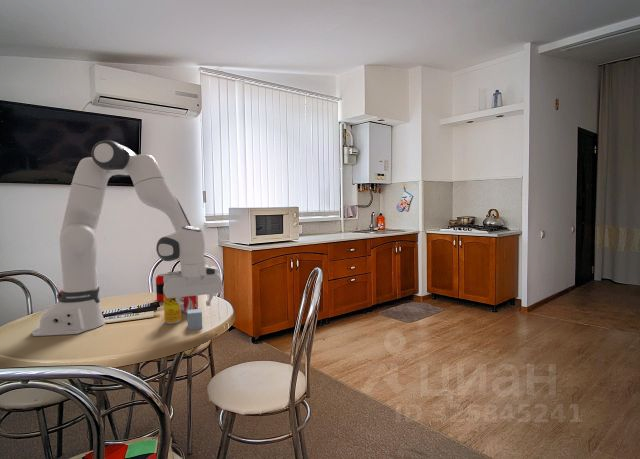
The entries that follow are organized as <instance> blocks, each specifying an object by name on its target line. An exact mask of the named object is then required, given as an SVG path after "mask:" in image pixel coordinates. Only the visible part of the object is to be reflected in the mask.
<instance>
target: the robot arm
mask: <svg viewBox="0 0 640 459" xmlns="http://www.w3.org/2000/svg"><path fill="white" fill-rule="evenodd" d="M90 154H91V156H90V157H89V156H87V157H84V158H82V159H81V160H80V161H79V162H78V165H77V166H76V169H75V171H74V175H73V178H72V181H71V185H70V189H69V190H70V191H69V195H68V199H67V203H66V207H65V212H64V215H63V216H64V217H63V222H62V226H61V230H60V235H59V247H60V248H59V249H60V251H59V252H60V260H61V275H62V278H61V279H62V289H61V290H60V291H59V292H58V293H57V295H56V299H57V302H56V303H55V304H53V305H52V306H51V307H49V308H47V309H46V311H45V312H44V313H42V315H41V317H40V320H39V325H38V326H36V327H35V328H34V329H33V330H32V332H31V335H32V336H33V337H43V336H45V337H46V336H60V335H62V336H63V335H77V334H81V333H84V332H87V331H89V330H93V329H97V328H99V327H101V326H103V325H104V324H105V323H106V321H105V318H104V315H103V312H102V309H101V290H100V286H99V281H98V258H97V257H98V256H97V255H98V254H97V235H96V232H97V227H98V224H99V221H100V216H101V213H102V210H103V205H104V201H105V196H106V190H107V186H108V182H109V180H110V178H112V177H114V178H122V177H123V178H127V177H130V179H131V181H132V184H133V187H134V190H135V192H136V193H135V194H136V195H137V196H138V197H137V198H138V199H139V201H141V203H142V204H144V205H146V206H147V207H150V208H153V209H156V210H158V211H160V212H162V213H163V214H165V215H166V216H167V217H168V219H169V220H170V222H171V225H172V226H173V228H174V230H175V232H174V233H170V234H169V235H168V234H167V235H165V236H162V237H161V238H159V239H158V240H157V243H156V255H157V256H158V258H159V259H161V260H162V261H164V262H173V261H179V263H180V264H179V267H180V270H177V271H173V272H172V271H169V272H167V273H164V274H165V275H164V277H163V282H164V284H165V285H166V286H165V296H166V297H167V298H175V297H176V301H177V303H178V304H179V308H180V309H184V303H181V302H180V301H179V300H180V297H185V296H196V295H198V296H205V295H208V297H209V298H208V300H205V302H206V303H205V304H206V307H210V306H211V301H212V300H213V297H214V295H215V294H221V293H222V292H223V290H224V289H223V282H222V279H221V276H220V274H219V268H218V267H217V266H215V265H211V264H206V262H207V261H206V258H205V251H206V243H205V236H204V232H203V230H202V228H200V227H197V226H194V225H191V223H190V221H189V219H188V217H187V215H186V212H185V211H184V209H183V207H182V205H181V203H180V201H179V199H178V198H177V197H176V196H175V195H174V194H173V192H172V190H170V188H169V186H168V183H167V181H166V179H165V176H164V174H163V171H162V169H161V167H160V165H159V163H158V162H157V159H155V157H154V156H153V155H151V154H147V153H140V154H137V153H136V152H135V151H133V150H131V149H130V148H129V147H127V146H125V145H123V144H120V143H118V142H116V141H114V140H111V139H110V140H108V139H107V140H100V141H98V142H96V143H95V144H94V145H93V147H92V149H91V152H90ZM167 274H168V275H167Z"/></svg>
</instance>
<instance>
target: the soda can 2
mask: <svg viewBox="0 0 640 459" xmlns="http://www.w3.org/2000/svg"><path fill="white" fill-rule="evenodd" d="M181 303H184V309H181V313H183V314H187V310H192V309H199V295H196V296H185V297H181Z"/></svg>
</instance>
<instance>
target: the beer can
mask: <svg viewBox="0 0 640 459" xmlns="http://www.w3.org/2000/svg"><path fill="white" fill-rule="evenodd" d="M165 286H166V285H165V284H164V287H163V296H164V302H163V309H164V310H163V312H164V313H163V314H164V315H163V316H164V317H163V318H164V322H165V323H166V324H168V325H173V324H178V323H180V322H181V321H182V311H181V309H180V308H179V304H178V303H177V301H176V297H175V298H167V297H166V296H165ZM179 301H180V302H181V297H180V300H179Z"/></svg>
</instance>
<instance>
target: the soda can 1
mask: <svg viewBox="0 0 640 459" xmlns="http://www.w3.org/2000/svg"><path fill="white" fill-rule="evenodd" d="M165 274H167V273H159V274H158V275H157V276H156V278H155V292H156V301H157V302H163V303H164V296H163V287H164V282H163V277H164V275H165ZM167 275H168V274H167Z"/></svg>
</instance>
